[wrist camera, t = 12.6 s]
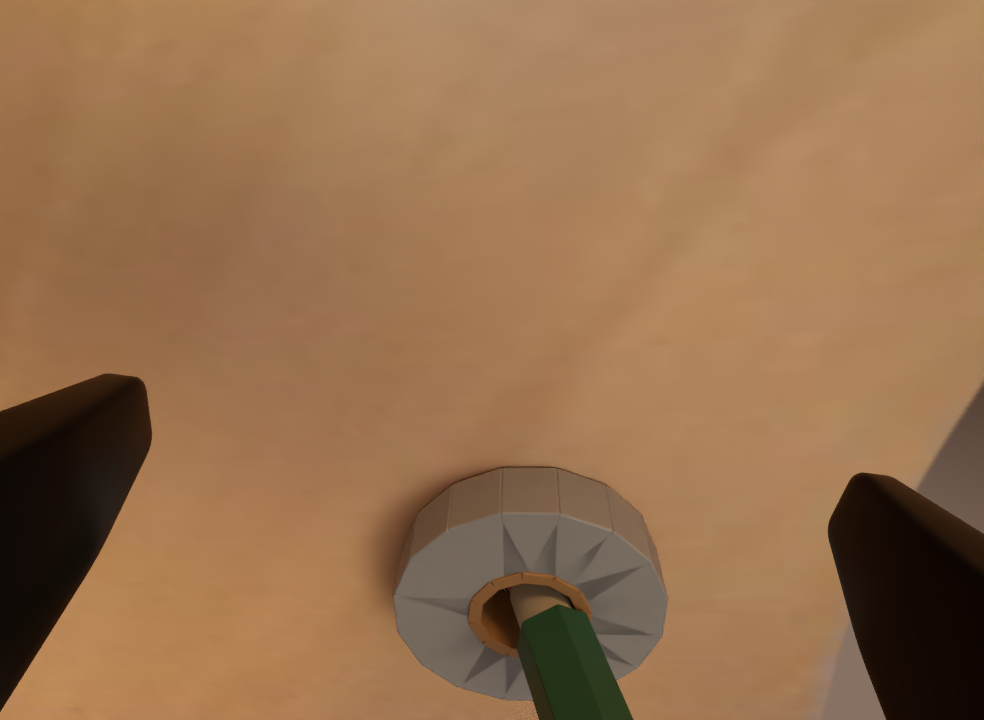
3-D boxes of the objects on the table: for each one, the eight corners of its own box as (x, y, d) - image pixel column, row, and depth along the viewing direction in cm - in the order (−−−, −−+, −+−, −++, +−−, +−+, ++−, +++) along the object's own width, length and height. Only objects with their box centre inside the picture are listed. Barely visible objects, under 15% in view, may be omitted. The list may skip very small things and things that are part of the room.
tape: (467, 670, 30) (463, 725, 28) (359, 513, 26) (344, 563, 24) (684, 614, 28) (699, 669, 26) (606, 432, 24) (614, 479, 22)
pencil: (493, 597, 27) (601, 946, 18) (502, 546, 26) (625, 896, 16) (551, 590, 28) (685, 922, 18) (563, 540, 27) (715, 872, 17)
